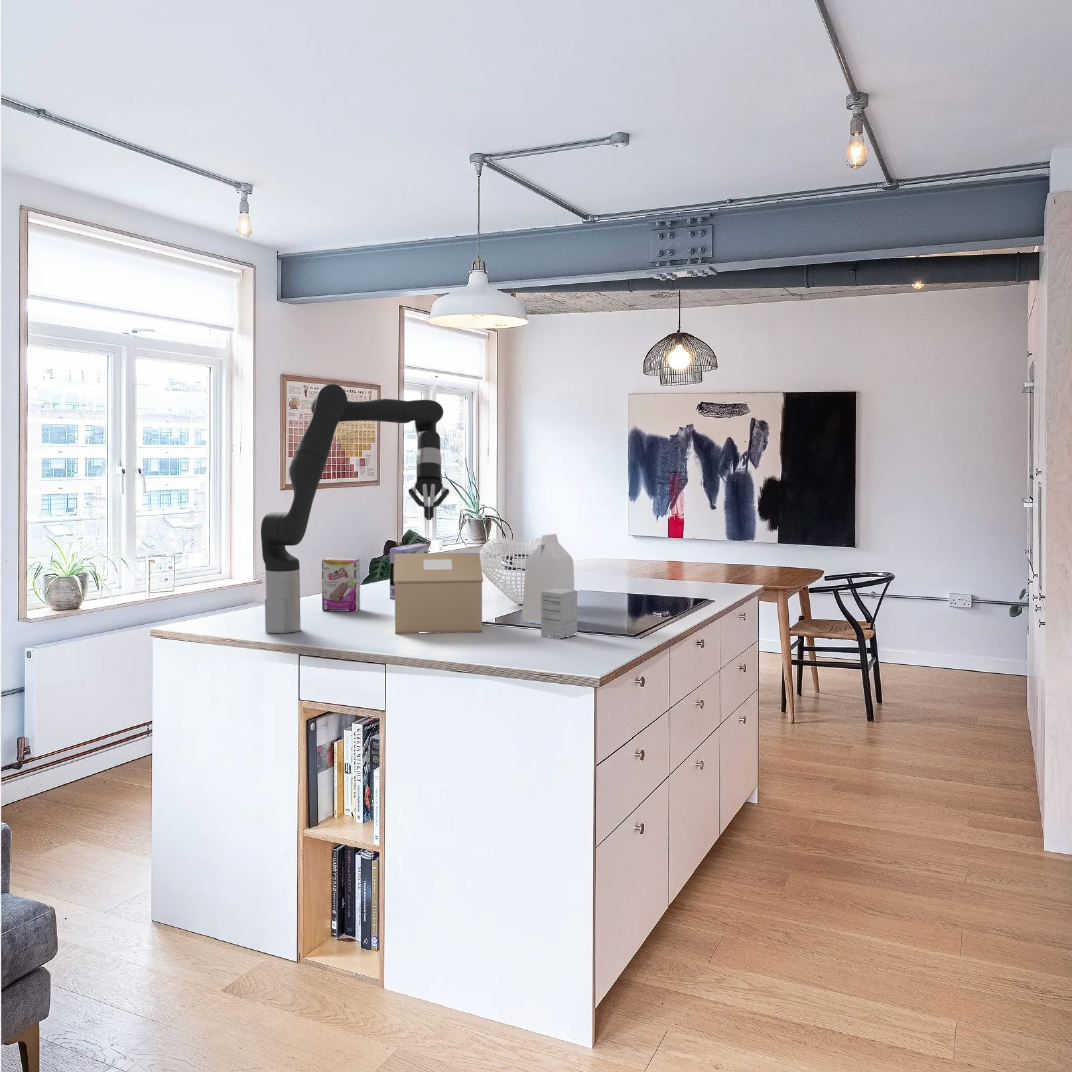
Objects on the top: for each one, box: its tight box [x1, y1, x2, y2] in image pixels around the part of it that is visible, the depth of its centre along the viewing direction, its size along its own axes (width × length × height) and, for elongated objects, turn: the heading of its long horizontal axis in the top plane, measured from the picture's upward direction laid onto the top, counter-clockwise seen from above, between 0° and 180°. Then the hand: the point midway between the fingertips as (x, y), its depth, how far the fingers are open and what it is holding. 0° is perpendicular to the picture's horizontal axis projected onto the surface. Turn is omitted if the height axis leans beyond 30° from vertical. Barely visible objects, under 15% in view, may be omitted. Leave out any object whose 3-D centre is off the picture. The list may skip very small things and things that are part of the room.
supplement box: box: [540, 588, 578, 639], centre depth 261 cm, size 7×7×13 cm
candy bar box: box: [321, 557, 361, 612], centre depth 301 cm, size 11×5×16 cm, turn 84°
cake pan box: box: [389, 542, 429, 600], centre depth 331 cm, size 19×5×18 cm, turn 154°
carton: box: [394, 582, 483, 635], centre depth 271 cm, size 16×24×14 cm, turn 97°
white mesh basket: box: [479, 537, 542, 605], centre depth 312 cm, size 28×16×22 cm, turn 90°
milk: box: [521, 533, 575, 620], centre depth 282 cm, size 12×12×26 cm
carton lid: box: [394, 552, 484, 583], centre depth 270 cm, size 16×25×1 cm, turn 98°
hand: (428, 519), depth 288 cm, fingers closed
